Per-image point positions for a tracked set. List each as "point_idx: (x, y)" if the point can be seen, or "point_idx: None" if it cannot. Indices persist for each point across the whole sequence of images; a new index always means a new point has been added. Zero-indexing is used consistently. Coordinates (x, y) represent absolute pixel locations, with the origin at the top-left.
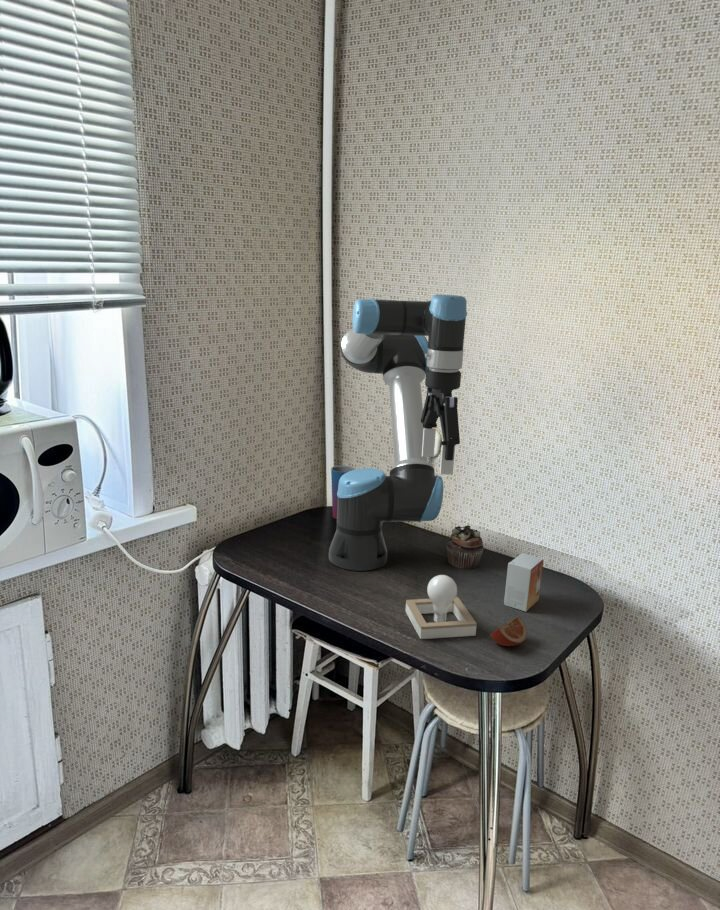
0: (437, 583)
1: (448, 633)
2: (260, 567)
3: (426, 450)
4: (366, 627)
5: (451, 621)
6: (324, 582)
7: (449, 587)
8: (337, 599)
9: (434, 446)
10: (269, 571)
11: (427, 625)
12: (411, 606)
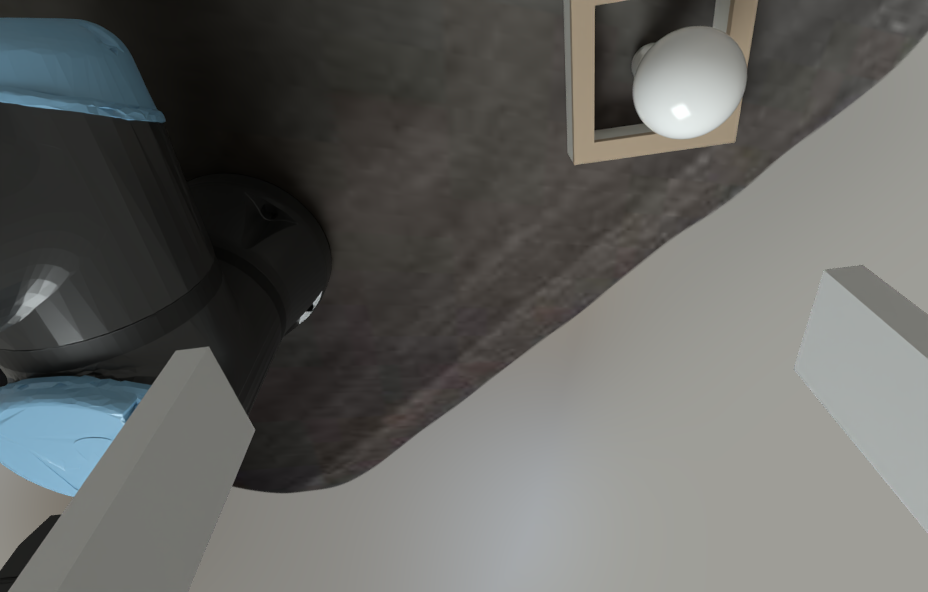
0: (723, 119)
1: None
2: (348, 434)
3: (219, 459)
4: (634, 250)
5: None
6: (407, 327)
7: (746, 73)
8: (495, 303)
9: (152, 435)
10: (365, 420)
11: (732, 123)
12: (615, 154)
